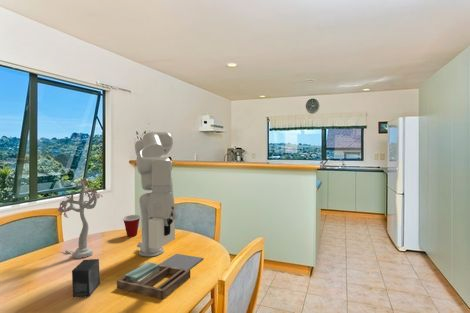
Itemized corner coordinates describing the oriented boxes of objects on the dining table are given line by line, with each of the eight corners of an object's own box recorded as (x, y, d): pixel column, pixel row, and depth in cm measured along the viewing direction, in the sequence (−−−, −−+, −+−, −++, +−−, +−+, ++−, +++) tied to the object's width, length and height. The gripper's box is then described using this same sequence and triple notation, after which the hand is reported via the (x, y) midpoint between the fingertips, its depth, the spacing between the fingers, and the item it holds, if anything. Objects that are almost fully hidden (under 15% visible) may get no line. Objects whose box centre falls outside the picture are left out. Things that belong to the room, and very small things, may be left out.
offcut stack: (124, 286, 116) (124, 275, 115) (148, 271, 129) (147, 261, 129) (138, 289, 113) (138, 278, 113) (160, 274, 126) (160, 264, 126)
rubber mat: (156, 266, 134) (156, 265, 134) (176, 254, 149) (176, 253, 149) (186, 272, 128) (186, 270, 128) (203, 259, 143) (203, 257, 143)
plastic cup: (119, 238, 177) (118, 218, 176) (128, 232, 187) (128, 214, 187) (135, 238, 175) (135, 219, 174) (143, 233, 186) (143, 215, 185)
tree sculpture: (38, 259, 143) (36, 179, 142) (78, 244, 165) (76, 175, 164) (81, 267, 134) (79, 181, 133) (117, 249, 156) (116, 176, 155)
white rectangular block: (148, 247, 112) (148, 219, 112) (167, 238, 123) (166, 212, 123) (157, 249, 111) (156, 220, 110) (174, 239, 122) (174, 213, 121)
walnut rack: (116, 288, 114) (116, 280, 114) (148, 269, 132) (148, 262, 132) (163, 299, 106) (163, 291, 106) (190, 276, 123) (190, 270, 123)
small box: (84, 284, 118) (83, 259, 117) (100, 283, 118) (99, 258, 118) (71, 297, 107) (70, 270, 107) (89, 297, 108) (89, 269, 107)
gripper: (138, 189, 115) (139, 234, 116) (174, 192, 109) (174, 239, 110) (150, 186, 122) (151, 229, 123) (184, 189, 116) (185, 233, 117)
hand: (162, 233), depth 117 cm, fingers closed on white rectangular block, 4 cm apart
